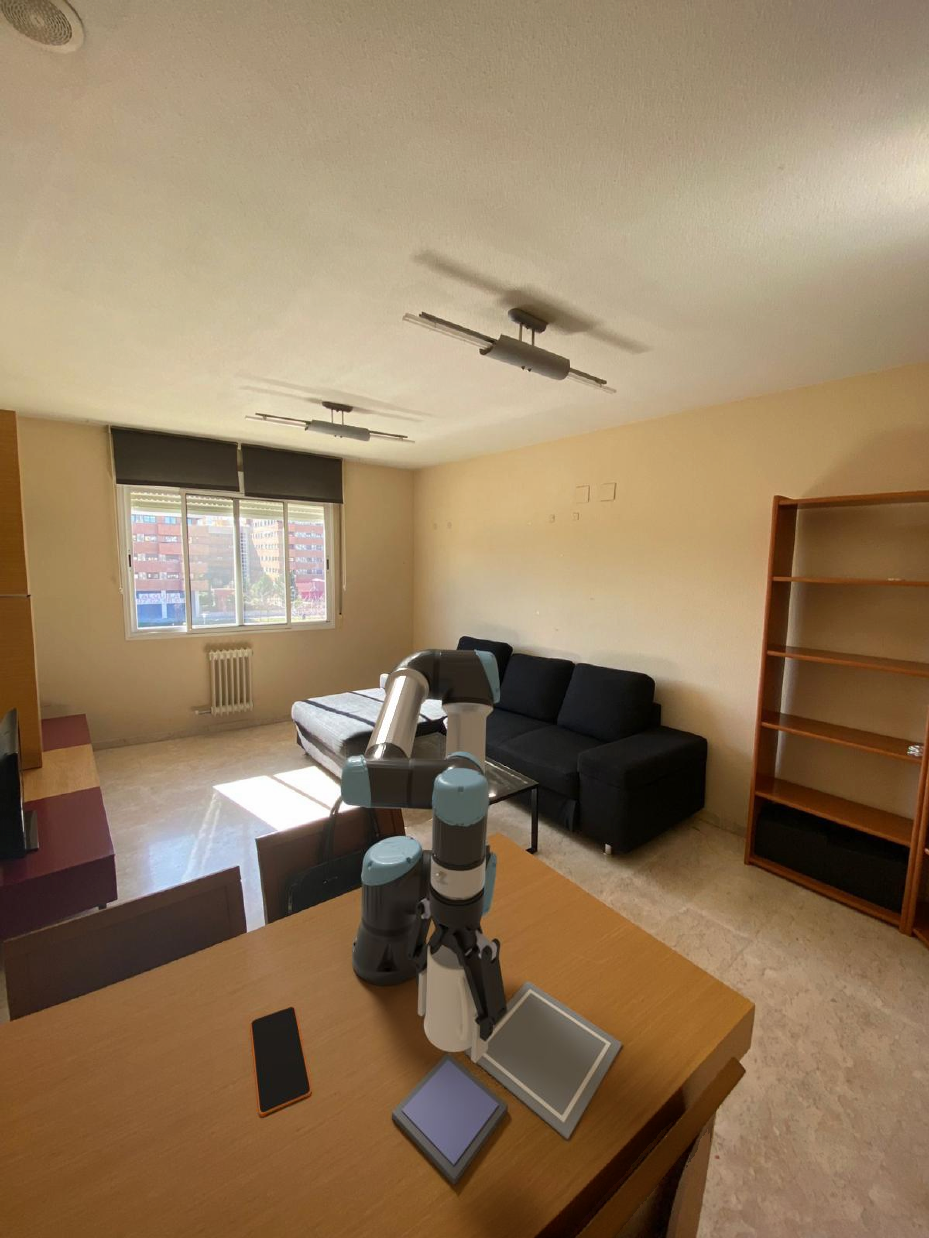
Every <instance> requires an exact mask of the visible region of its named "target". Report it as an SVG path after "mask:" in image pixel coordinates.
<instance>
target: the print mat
mask: <svg viewBox="0 0 929 1238" xmlns="http://www.w3.org/2000/svg"><path fill="white" fill-rule="evenodd" d="M506 1005H507V1013H506V1014H505V1015H504V1016H503V1017H502V1019H501V1020H500V1021H499V1022H498V1023H497V1024H496V1025H493V1033H492V1035H491V1036H490V1037H489V1038H488V1050H487V1051H486V1052H485V1053H484V1054H483V1055H482V1057H481V1058H480V1059H479V1060H478V1061H477V1062H476V1063H475V1064H477V1065H478V1066H479V1067H480V1068H482V1069H483V1070H484V1071H485V1072H486V1073H488V1074H489V1075H490V1076H491V1077H492V1078H494V1079H495V1080H496V1081H497V1082H498V1083H499V1084H500V1085H502V1086H503V1087H504V1088H505V1089H507V1090H508V1091H509V1092H510V1093H511V1094H512V1095H514V1097H515V1098H517V1099H518V1100H519V1101H520V1102H522V1103H523V1104H524V1105H525V1106H526V1107H527V1108H529V1109H530V1110H531V1111H533V1113H535V1114H536V1116H538V1117H539V1118H540V1119H542V1120H543V1121H544V1122H545V1123H546V1124H548V1125H549V1126H550V1127H551V1128H552V1129H553V1130H555V1131H556V1132H557V1133H558V1134H559V1135H560V1136H562V1137H563V1138H564V1139H566V1140H567V1141H568V1140H569V1139H570V1137H571V1135H572V1133H573V1132H574V1130H575V1128H576V1126H577V1124H578V1123H579V1121H580V1119H581V1118H582V1117H583V1114H584V1113H585V1111H586V1110H587V1107H588V1106H589V1104H590V1102H591V1100H592V1098H593V1096H594V1095H595V1094H596V1092H597V1090H598V1088H599V1086H600V1084H601V1083H602V1081H603V1080H604V1077H605V1076H606V1074H607V1073H608V1070H609V1069H610V1068H611V1065H612V1064H613V1062H614V1061H615V1058H616V1057H617V1055H618V1053H619V1051H620V1050H621V1048H622V1046H623V1042H622V1041H619V1040H618V1039H616V1038H615V1037H614V1036H612V1035H611V1034H609V1033H607V1032H606V1031H605V1030H604V1029H601V1028H600V1027H598V1026H597V1025H595V1023H592V1022H591V1021H589V1020H588V1019H586V1018H585V1017H583V1016H582V1015H580V1014H579V1013H577V1012H575V1011H574V1010H573V1009H571V1008H570V1007H568V1006H567V1005H565V1004H563V1003H562V1002H561V1001H559V1000H557V999H556V998H554V997H553V996H552V995H550V994H548V993H547V992H545V991H544V990H542V989H541V988H539V986H536V985H535V984H533V983H532V982H530V981H529V980H527V981H526V982H525V983H524V984H523V985H522V986H521V988H520V989H518V991H517V992H516V993H515V994H514V995H513V996H512V997H511V999H509V1000H508V1002H506ZM471 1050H472V1046H471V1047H470V1048H468V1049H466V1050H463V1051H464V1052H463V1053H464V1054H465V1055H466V1056H468V1058H469V1059H471Z"/></svg>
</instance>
